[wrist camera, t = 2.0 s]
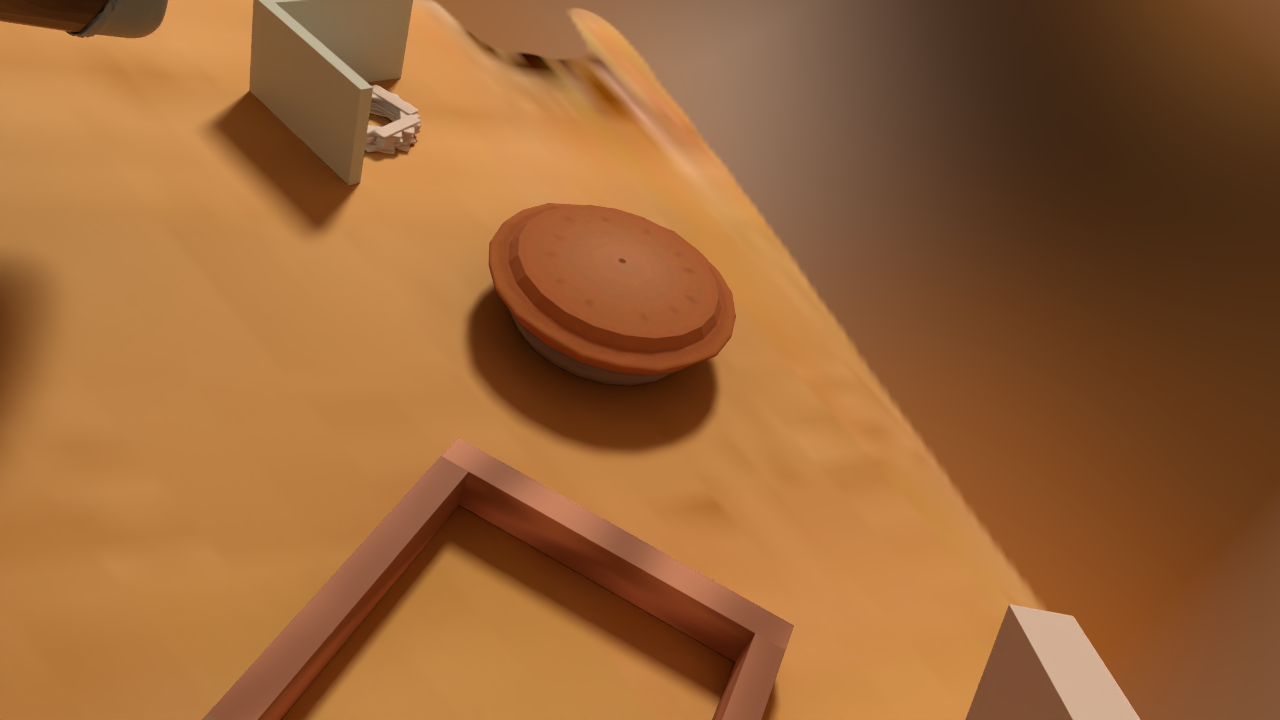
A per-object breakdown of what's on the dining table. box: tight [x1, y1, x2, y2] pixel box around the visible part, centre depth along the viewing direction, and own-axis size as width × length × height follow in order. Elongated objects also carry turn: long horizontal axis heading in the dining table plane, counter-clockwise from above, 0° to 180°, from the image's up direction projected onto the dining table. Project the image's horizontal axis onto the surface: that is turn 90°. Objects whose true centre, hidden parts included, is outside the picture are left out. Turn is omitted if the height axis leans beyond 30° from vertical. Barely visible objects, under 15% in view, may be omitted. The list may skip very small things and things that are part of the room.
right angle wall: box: [249, 0, 421, 185], centre depth 66 cm, size 12×12×8 cm
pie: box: [489, 203, 736, 386], centre depth 58 cm, size 15×16×5 cm
